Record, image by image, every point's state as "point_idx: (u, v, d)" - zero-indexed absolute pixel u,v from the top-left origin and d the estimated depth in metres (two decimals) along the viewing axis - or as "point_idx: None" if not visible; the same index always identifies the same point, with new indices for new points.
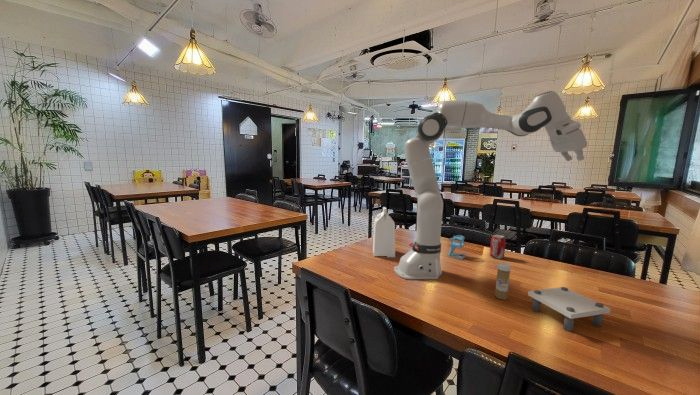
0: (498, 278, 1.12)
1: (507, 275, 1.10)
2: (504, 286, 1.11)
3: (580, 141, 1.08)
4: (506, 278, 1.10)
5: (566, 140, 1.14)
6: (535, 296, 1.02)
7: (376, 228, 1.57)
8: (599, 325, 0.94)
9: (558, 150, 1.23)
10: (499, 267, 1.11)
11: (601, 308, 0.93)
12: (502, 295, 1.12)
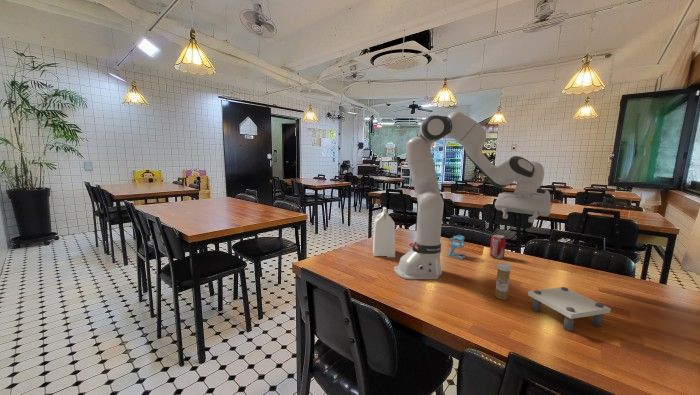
0: (498, 278, 1.12)
1: (507, 275, 1.10)
2: (504, 286, 1.11)
3: (550, 208, 1.15)
4: (506, 278, 1.10)
5: (534, 201, 1.18)
6: (535, 296, 1.02)
7: (376, 228, 1.57)
8: (599, 325, 0.94)
9: (505, 204, 1.23)
10: (499, 267, 1.11)
11: (601, 308, 0.93)
12: (502, 295, 1.12)
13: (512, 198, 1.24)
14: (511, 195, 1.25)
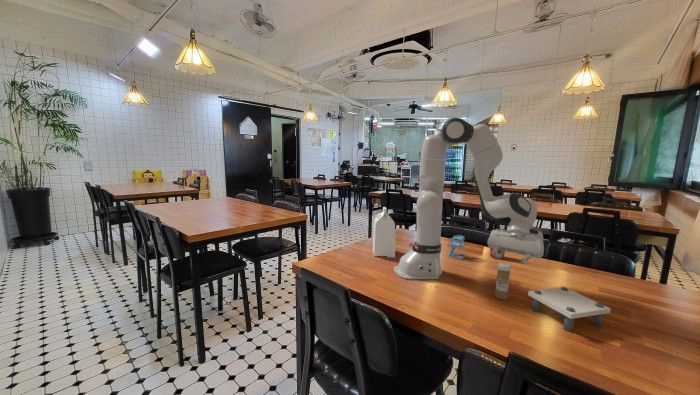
0: (498, 278, 1.12)
1: (507, 275, 1.10)
2: (504, 286, 1.11)
3: (543, 250, 1.13)
4: (506, 278, 1.10)
5: (527, 241, 1.17)
6: (535, 296, 1.02)
7: (376, 228, 1.57)
8: (599, 325, 0.94)
9: (498, 243, 1.22)
10: (499, 267, 1.11)
11: (601, 308, 0.93)
12: (502, 295, 1.12)
13: (505, 237, 1.23)
14: (504, 233, 1.23)
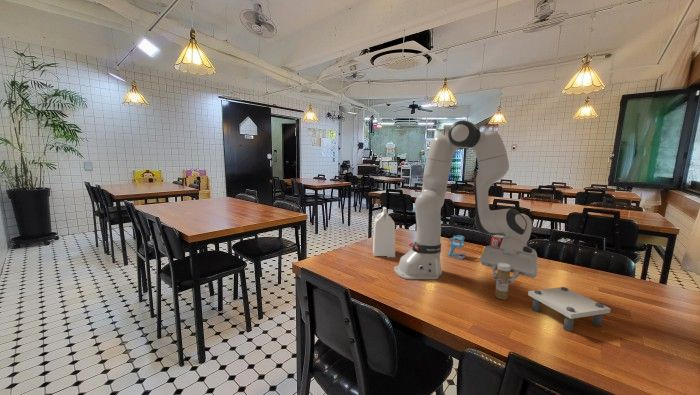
0: (498, 278, 1.12)
1: (507, 275, 1.10)
2: (504, 286, 1.11)
3: (537, 270, 1.09)
4: (506, 278, 1.10)
5: (520, 260, 1.12)
6: (535, 296, 1.02)
7: (376, 228, 1.57)
8: (599, 325, 0.94)
9: (491, 261, 1.17)
10: (499, 267, 1.11)
11: (601, 308, 0.93)
12: (502, 295, 1.12)
13: (498, 254, 1.18)
14: (497, 250, 1.19)
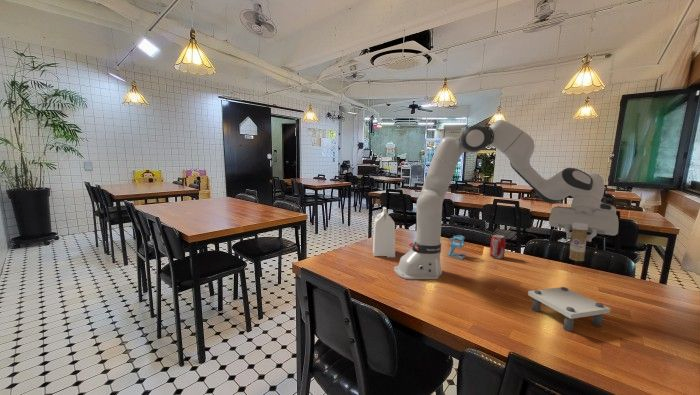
0: (574, 238, 1.05)
1: (585, 234, 1.04)
2: (582, 246, 1.04)
3: None
4: (584, 238, 1.04)
5: (597, 218, 1.05)
6: (535, 296, 1.02)
7: (376, 228, 1.57)
8: (599, 325, 0.94)
9: (563, 221, 1.10)
10: (575, 226, 1.04)
11: (601, 308, 0.93)
12: (578, 256, 1.05)
13: (570, 214, 1.11)
14: (568, 210, 1.12)
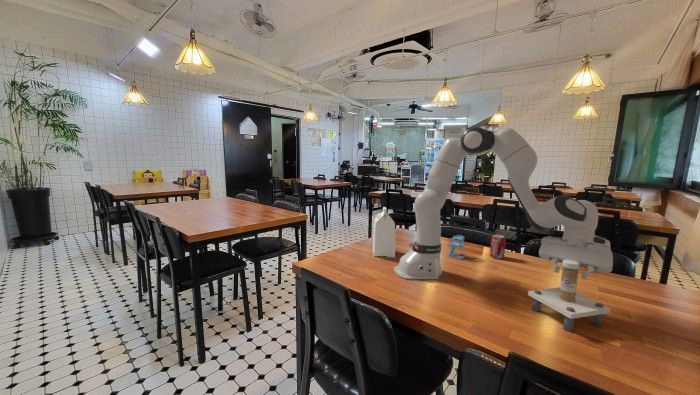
0: (564, 277, 0.98)
1: (576, 274, 0.96)
2: (572, 286, 0.96)
3: None
4: (574, 277, 0.96)
5: (590, 252, 0.97)
6: (535, 296, 1.02)
7: (376, 228, 1.57)
8: (599, 325, 0.94)
9: (553, 254, 1.02)
10: (565, 265, 0.97)
11: (601, 308, 0.93)
12: (569, 296, 0.97)
13: (561, 246, 1.03)
14: (559, 242, 1.04)
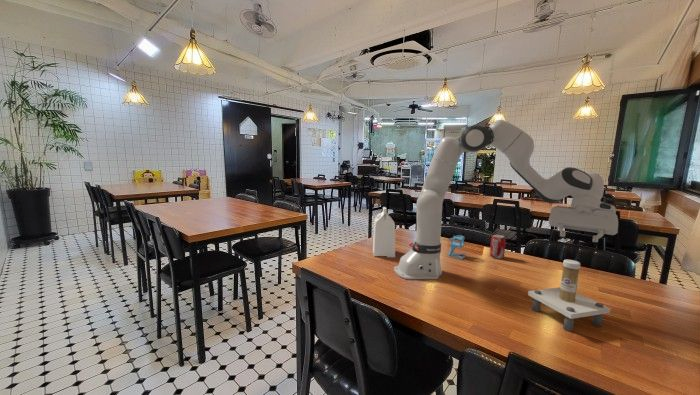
0: (564, 277, 0.98)
1: (576, 274, 0.96)
2: (573, 286, 0.96)
3: None
4: (575, 277, 0.96)
5: (597, 217, 1.05)
6: (535, 296, 1.02)
7: (376, 228, 1.57)
8: (599, 325, 0.94)
9: (562, 221, 1.10)
10: (566, 264, 0.97)
11: (601, 308, 0.93)
12: (569, 296, 0.97)
13: (569, 213, 1.11)
14: (568, 210, 1.12)
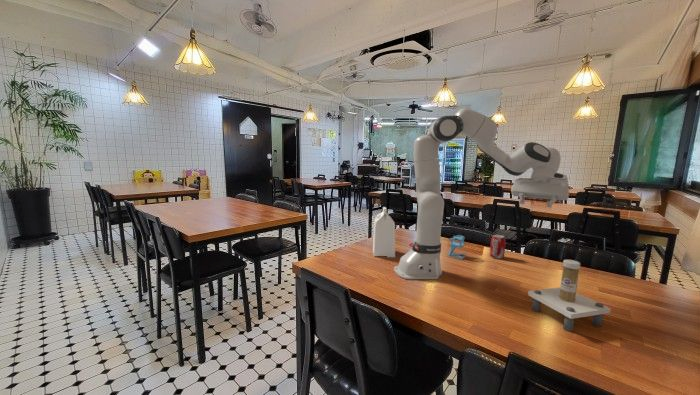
0: (564, 277, 0.98)
1: (576, 274, 0.96)
2: (573, 286, 0.96)
3: (568, 192, 1.15)
4: (575, 277, 0.96)
5: (552, 185, 1.18)
6: (535, 296, 1.02)
7: (376, 228, 1.57)
8: (599, 325, 0.94)
9: (522, 190, 1.23)
10: (566, 264, 0.97)
11: (601, 308, 0.93)
12: (569, 296, 0.97)
13: (529, 183, 1.24)
14: (528, 181, 1.25)
